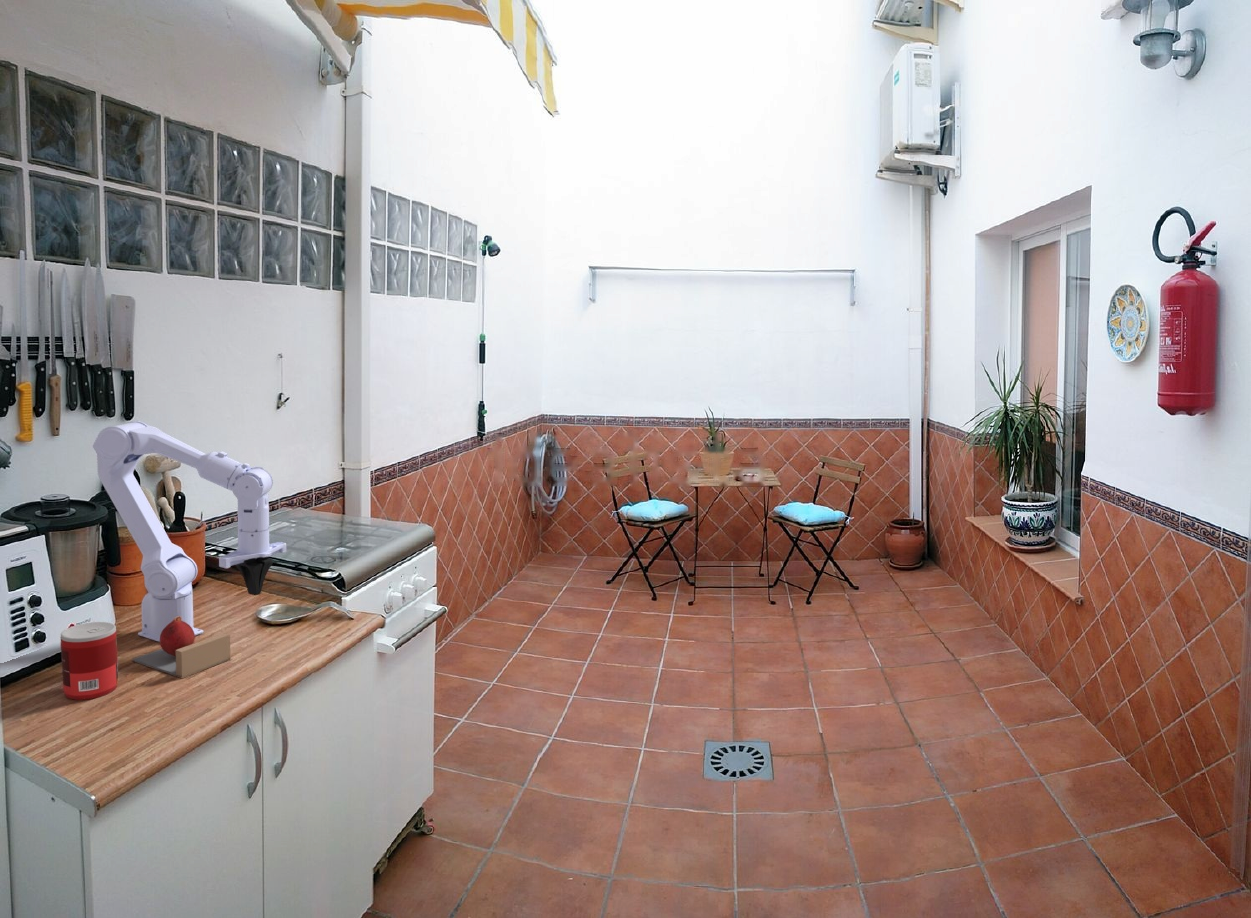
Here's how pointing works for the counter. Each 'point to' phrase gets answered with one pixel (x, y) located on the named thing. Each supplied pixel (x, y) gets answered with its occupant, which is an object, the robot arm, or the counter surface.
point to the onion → (176, 636)
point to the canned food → (89, 660)
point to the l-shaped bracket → (190, 657)
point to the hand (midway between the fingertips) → (254, 593)
